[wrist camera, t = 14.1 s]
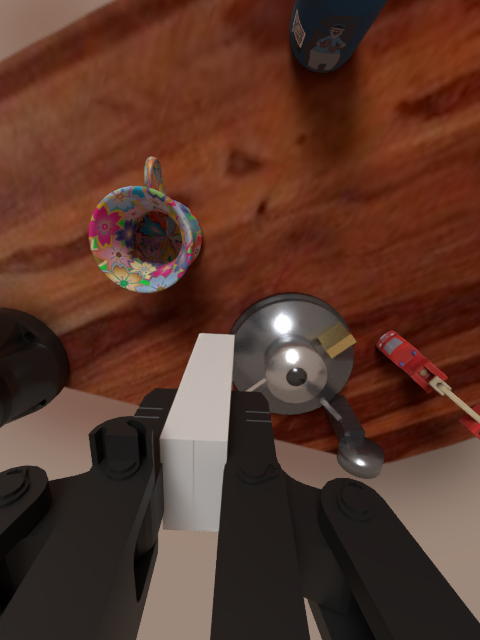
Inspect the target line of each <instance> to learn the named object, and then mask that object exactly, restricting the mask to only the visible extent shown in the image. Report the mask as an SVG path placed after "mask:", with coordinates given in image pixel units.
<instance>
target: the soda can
mask: <svg viewBox="0 0 480 640" xmlns="http://www.w3.org/2000/svg"><path fill="white" fill-rule="evenodd" d="M386 2H387V0H296V1H295V5H294V9H293V13H292V17H291V22H290V42H291V47H292V50H293V52H294V54H295V56H296V58H297V59H298V61H299V62H300V63H301V64H302V65H303V66H304V67H305V68H307V69H309V70H311V71H314V72H318V73H326V72H330V71H333V70H335V69H337V68H339V67H340V66H342V65H343V64H344V63H345V62H346V61H347V60H348V59H349V58H350V57H351V55H352V54H353V52H354V51H355V49H356V48H357V46H358V45H359V43H360V42H361V40H362V39H363V37H364V36H365V34H366V32H367V31H368V29H369V28H370V26H371V25H372V23H373V22H374V20H375V19H376V17H377V16H378V14H379V13H380V11H381V10H382V8H383V7H384V5H385V4H386Z"/></svg>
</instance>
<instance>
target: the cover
mask: <svg viewBox="0 0 480 640" xmlns="http://www.w3.org/2000/svg"><path fill="white" fill-rule="evenodd" d="M264 368H265V375H266V382H267V385H268V388H269V390H270V391H271V393H272V394H273V395H274V396H275V397H277V398H278V399H280V400H282V401H285V402H288V403H302V402H306V401H309V400H311V399H313V398H314V397H316V396H317V395H318V394H319V393H320V392H321V391H322V389H323V388H324V386H325V384H326V381H327V368H326V365H325V363H324V361H323V360H322V358H321V356H320V354H319V353H318V351H317V349H316V348H315V346H314V344H313V343H312V342H311V341H310V340H308V339H307V338H305V337H303V336H300V335H295V334H289V335H284V336H281V337H279V338H277V339H275V340H274V341H272V342H271V343H270V345H269V346H268V347H267V349H266V351H265V354H264Z"/></svg>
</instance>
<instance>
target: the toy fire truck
mask: <svg viewBox="0 0 480 640" xmlns="http://www.w3.org/2000/svg"><path fill="white" fill-rule="evenodd" d="M376 347H377V348H378V349H379V351H380V352H381V353H382V354H383V355H384V356H386V357H388V358H389V359H390V360H391V361H392V362H394V363H395V364H396V365H397V366H398V367H399V368H401V369H402V370H403V371H404V372H405V373H406V374H407V375H408V376H409V377H410V378H411V379H413V380H414V381H415V382H416V383H417V384H419V385H420V386H421V387H422V388H423V389H424V390H425V391H426V392H427V393H430V392H431V391H432V390H433V389H435V390H436V391H437V392H438V393H440V394H441V395H442V396H444V395H447V396H448V397H449V398H450V399H451V400H452V401H454V402H455V403H456V404H457V405H458V406H459V407H461V408H462V409H463V410H464V411H465V412H466V414H465V415H464V416H463V417H461V418H460V419H459V420H458V421H459V422H460V423H461V424H463V425H464V426H465V427H466V428H467V429H468V430H469V431H470V432H472V433H473V434H474V435H475V436H476V437H477V438H479V439H480V403H478V404H477V405H476V406H475V407H474V408H472V409H471V408H469V407H468V406H467V405H466V404H465V403H464V402H463V401H461V400H460V399H459V398H458V397H457V396H455V395H454V394H453V393H452V392H451V391H450V390H451V387H449V386H448V385H447V384H446V383H445V382H444V381H445V380H446V379H447V378H448V377H447V376H446V375H445V374H444V373H442V372H441V371H440V370H439V369H438V368H437V367H436V366H435V365H433V364H432V363H431V362H430V361H429V360H427V359H426V358H425V357H424V356H423V355H422V354H420V353H419V351H418V350H417V349H416V348H414V347H413V346H412V345H411V344H410V343H408V342H407V341H406V340H405V339H403V338H402V337H401V336H400V335H398V334H397V333H396V332H394V331H393V330H391V331H389V332H387V333H385V334H384V335H383V336H382V337H381V338H380V339H379V340H378V342H377V343H376Z"/></svg>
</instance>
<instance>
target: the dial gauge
mask: <svg viewBox="0 0 480 640" xmlns="http://www.w3.org/2000/svg"><path fill="white" fill-rule="evenodd" d="M319 400H320V402H321V403H322V404H323V406H324V407H325V410H326V412H327V415H328V417H329V419H330V421H331V424H332V426H333V428H334V430H335V433H336V435H337V437H338V440H339V446H338V452H337V460H338V463H339V464H340V466H341V467H342V468H343V469H344V470H345V471H347V472H348V473H350V474H352V475H354V476H356V477H359V478H364V479H365V478H366V479H370V478H375V477H377V476H378V475H379V474H380V472H381V469H382V465H383V461H384V452H383V450H382V449H381V448H380V446H379V445H378V444H376V443H375V442H374V441H372V440H370V439H368V438H366V437H364V435H365V431H364V429H363V428H362V426H361V424H360V422H359V421H358V419H357V417H356V415H355V414H354V412H353V410H352V409H351V407H350V405H349V403H348V402H347V400H346V398H345V397H344V395H336V396H335V397H334V398H333V399H331V400H330V401H329V402H327V400H326V399H325V398H324V397H322V398H321V399H319Z"/></svg>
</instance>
